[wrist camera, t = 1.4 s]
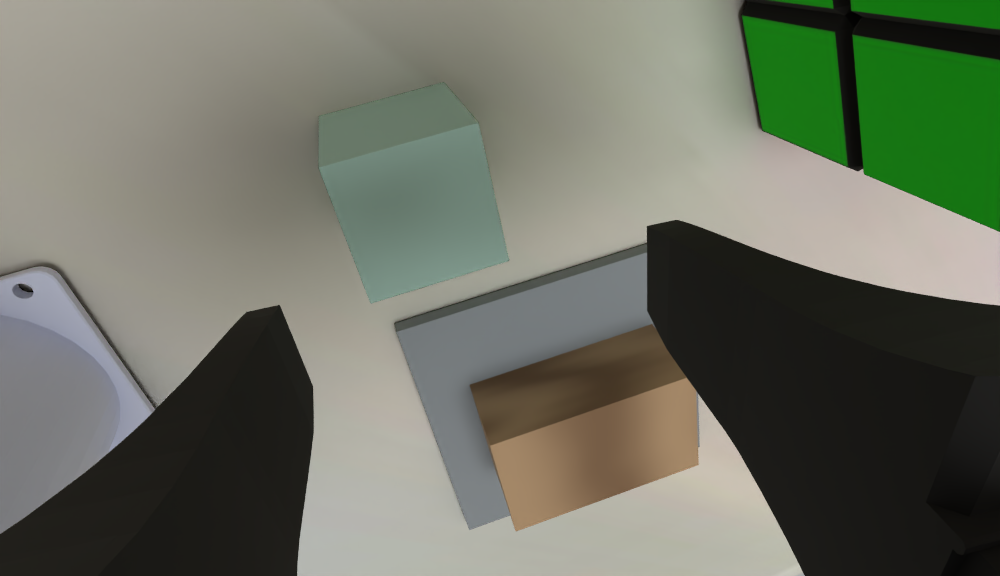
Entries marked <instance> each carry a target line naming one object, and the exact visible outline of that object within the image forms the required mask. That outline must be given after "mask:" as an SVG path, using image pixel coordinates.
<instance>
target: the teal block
mask: <svg viewBox="0 0 1000 576" xmlns="http://www.w3.org/2000/svg"><path fill="white" fill-rule="evenodd" d="M318 168H319V171H320V173H321V176H322V178H323V181H324V184H325V186H326V189H327V191H328V194H329V197H330V199H331V202H332V204H333V207H334V210H335V212H336V215H337V217H338V220H339V223H340V225H341V228H342V230H343V233H344V236H345V238H346V241H347V243H348V246H349V248H350V251H351V254H352V256H353V259H354V261H355V264H356V267H357V269H358V272H359V274H360V277H361V280H362V282H363V285H364V287H365V290H366V293H367V295H368V298H369V300H370V303H374V302H378V301H381V300H384V299H387V298H391V297H394V296H397V295H400V294H403V293H407V292H410V291H413V290H416V289H420V288H423V287H426V286H429V285H432V284H436V283H439V282H442V281H445V280H449V279H452V278H455V277H458V276H462V275H465V274H468V273H471V272H474V271H478V270H481V269H484V268H487V267H491V266H494V265H497V264H500V263H504V262H507V261H509V257H508V253H507V248H506V244H505V239H504V235H503V230H502V226H501V221H500V217H499V212H498V208H497V203H496V199H495V194H494V190H493V185H492V181H491V176H490V172H489V167H488V163H487V158H486V154H485V149H484V145H483V140H482V136H481V131H480V127H479V123H478V121H477V120H476V119H475V118H474V117H473V116H472V114H471V113H470V112H469V111H468V110H467V109H466V107H465V106H464V105H463V104H462V103H461V102H460V101H459V99H458V98H457V97H456V96H455V95H454V94H453V92H452V91H451V90H450V89H449V88H448V87H447V85H446V84H445V83H444V82H443V83H439V84H435V85H432V86H428V87H424V88H421V89H417V90H413V91H410V92H406V93H402V94H399V95H395V96H391V97H388V98H384V99H380V100H376V101H373V102H369V103H365V104H362V105H358V106H354V107H351V108H347V109H343V110H340V111H336V112H332V113H329V114H325V115H321V116H319V155H318Z"/></svg>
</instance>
